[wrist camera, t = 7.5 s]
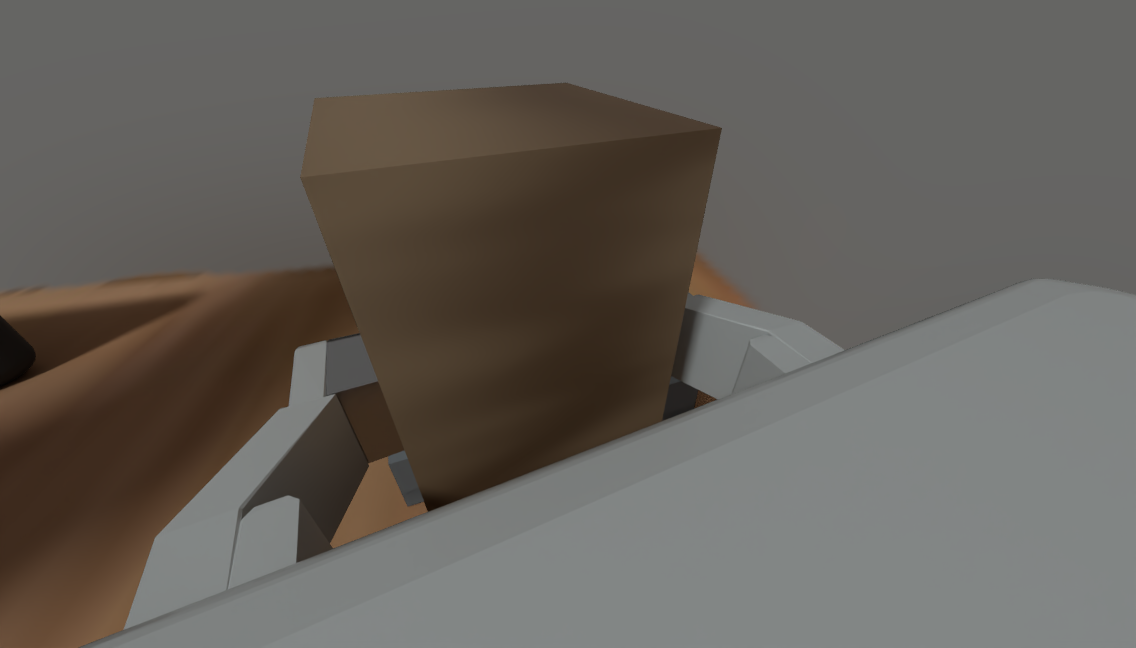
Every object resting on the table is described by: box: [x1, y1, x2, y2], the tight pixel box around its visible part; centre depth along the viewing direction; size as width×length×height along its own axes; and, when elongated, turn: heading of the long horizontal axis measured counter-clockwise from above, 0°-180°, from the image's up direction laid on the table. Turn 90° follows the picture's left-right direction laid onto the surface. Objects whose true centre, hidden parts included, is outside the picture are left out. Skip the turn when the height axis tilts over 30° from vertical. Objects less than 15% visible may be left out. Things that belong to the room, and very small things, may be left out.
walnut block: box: [300, 83, 722, 512], centre depth 9 cm, size 4×4×10 cm
